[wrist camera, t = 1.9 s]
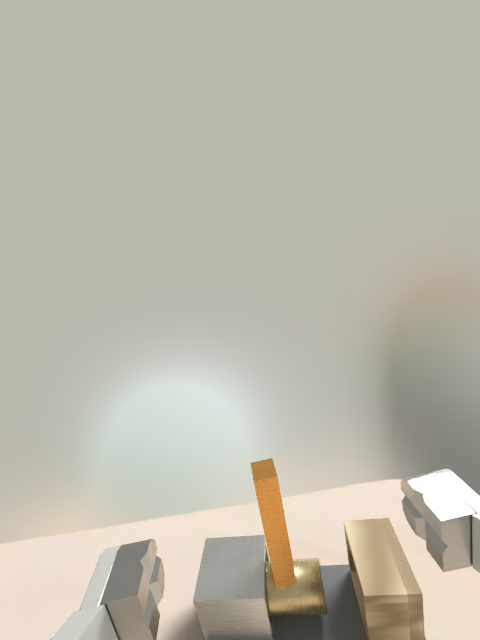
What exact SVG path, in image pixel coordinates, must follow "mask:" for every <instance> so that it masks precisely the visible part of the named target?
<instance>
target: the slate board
mask: <svg viewBox="0 0 480 640" xmlns="http://www.w3.org/2000/svg"><path fill="white" fill-rule="evenodd" d="M320 569H321V575H322V581H323V587H324V593H325V599H326V606H327V612H328V614H321V615H279V616H274V632H275V640H367V636H366V632H365V628H364V624H363V620H362V616H361V612H360V608H359V605H358V601H357V597H356V593H355V589H354V585H353V581H352V577H351V573H350V568H349V565H331V566H320ZM425 640H426V639H425Z"/></svg>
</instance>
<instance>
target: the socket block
mask: <svg viewBox="0 0 480 640" xmlns="http://www.w3.org/2000/svg"><path fill="white" fill-rule="evenodd" d="M344 528H345V536H346V544H347V552H348V560H349V568H350V573H351V577H352V581H353V585H354V589H355V593H356V597H357V601H358V605H359V608H360V612H361V616H362V620H363V624H364V628H365V632H366V636H367V640H425V636H424V617H423V598H422V592H421V590H420V588H419V585H418V583H417V581H416V579H415V576H414V574H413V572H412V570H411V567H410V565H409V563H408V561H407V558H406V556H405V554H404V552H403V549H402V547H401V545H400V543H399V540H398V538H397V536H396V534H395V531H394V529H393V527H392V525H391V522H390V520H389V518H383V519H367V520H352V521H344Z"/></svg>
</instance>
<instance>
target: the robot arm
mask: <svg viewBox="0 0 480 640" xmlns="http://www.w3.org/2000/svg"><path fill="white" fill-rule="evenodd" d="M401 490H402V491H403V493H404V494H405V497H404V499H403V500H402V504H403V511H404V513H405V516H406V519H407V521H408V523H409V525H410V526H411V528H412V529H413V531H414V532H415V534H416V535H417V536H419V537H421V538H422V539H424V540H426V546H427V550H428V552H429V553H430V554H431V556H432V557H433V558H434V560H435V561H436V562H437V564H438V565H439V567H440V568H441V569H442V571H443V572H446V571H451V570H456V569H460V568H465V567H470V566H473V568H474V569H475V570H477V571H478V572H480V496H479V495H478V494H476V493H475V492H474V491H473V490H472V489H471V488H470V487H469V486H468V485H466V484H465V483H464V482H463V481H462V480H461V479H460V478H459V477H458V476H456V475H455V474H454V473H453V472H452V471H451V470H449V469H443V470H439V471H435V472H431V473H426V474H423V475H418V476H414V477H410V478H407V479H402V481H401ZM156 553H157V545H156V542H155V540H154V539H150V540H145V541H140V542H136V543H131V544H126V545H121V546H118V547H113V548H108V549H105V550H104V551H103V553H102V554H101V556H100V558H99V561H98V563H97V566H96V569H95V571H94V574H93V576H92V579H91V582H90V584H89V587H88V589H87V592H86V595H85V597H84V600H83V602H82V605H81V608H80V610H79V611H75V612H74V613H73V614H72V615H71V616H70V617H69V618H68V620H67V621H66V622H65V623H64V624H63V626H62V627H61V628H60V629H59V630H58V631H57V633H56V634H55V635H54V636H53V637H52V638H51V640H156V637H157V630H158V624H159V618H160V614H159V611H158V608H157V605H158V604H159V602H160V601H161V599H162V597H163V591H164V568H163V564H162V560H161V558H159V557H158V556H156Z"/></svg>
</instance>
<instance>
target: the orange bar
mask: <svg viewBox="0 0 480 640" xmlns="http://www.w3.org/2000/svg"><path fill="white" fill-rule="evenodd" d="M251 468H252V474H253V479H254V484H255V489H256V494H257V499H258V504H259V509H260V514H261V519H262V523H263V528H264V533H265V538H266V543H267V548H268V552H269V557H270V561H265V599H266V603H267V608H268V613H269V616H279V615H321V614H328V612H327V606H326V599H325V593H324V587H323V581H322V575H321V569H320V563H319V558H314V559H293V560H292V554H291V549H290V543H289V538H288V533H287V527H286V522H285V516H284V511H283V505H282V500H281V495H280V489H279V484H278V478H277V474H276V470H275V467H274V463H273V459H267V460H262V461H258V462H254V463H251Z"/></svg>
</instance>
